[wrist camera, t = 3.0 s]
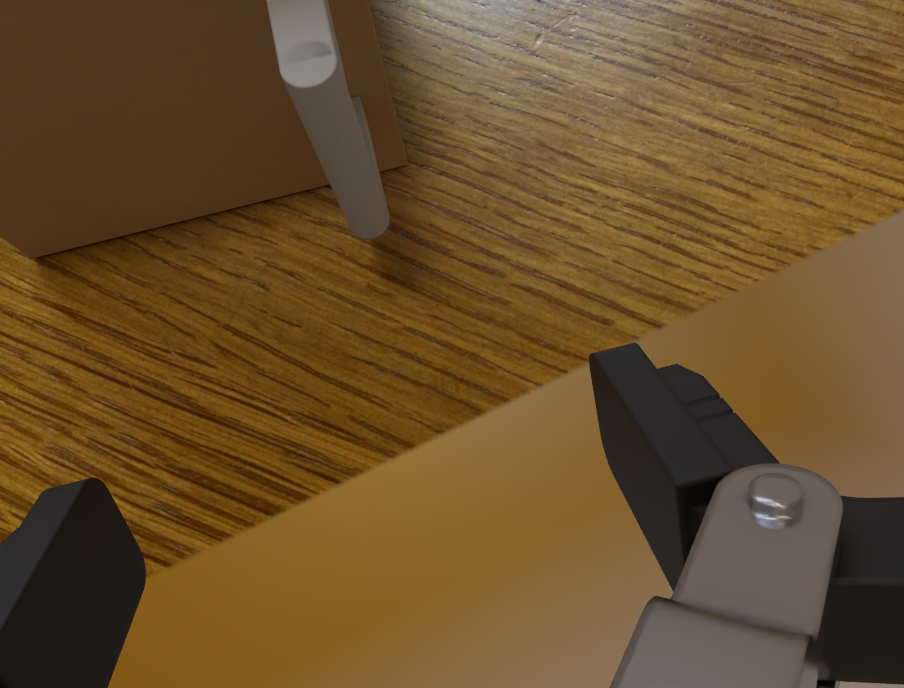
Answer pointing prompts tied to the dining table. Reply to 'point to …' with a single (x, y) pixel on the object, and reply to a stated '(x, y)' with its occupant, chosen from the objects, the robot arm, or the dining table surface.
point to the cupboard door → (186, 113)
